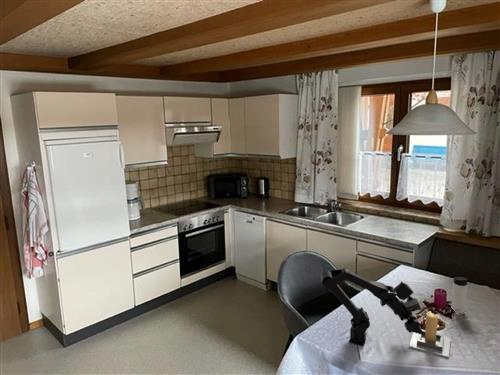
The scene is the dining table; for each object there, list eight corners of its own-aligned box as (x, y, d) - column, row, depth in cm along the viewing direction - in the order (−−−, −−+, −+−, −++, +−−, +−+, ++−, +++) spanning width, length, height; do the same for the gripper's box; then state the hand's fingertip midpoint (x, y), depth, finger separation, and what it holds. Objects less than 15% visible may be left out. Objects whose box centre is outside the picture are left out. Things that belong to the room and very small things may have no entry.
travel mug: (458, 316, 193) (461, 281, 189) (448, 310, 199) (451, 275, 195) (467, 314, 194) (471, 279, 190) (457, 308, 200) (460, 274, 196)
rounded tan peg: (422, 340, 173) (424, 315, 170) (429, 337, 174) (431, 312, 172) (430, 345, 168) (432, 320, 166) (438, 343, 170) (440, 317, 167)
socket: (409, 347, 169) (409, 342, 168) (414, 329, 182) (414, 324, 182) (448, 358, 161) (449, 352, 160) (450, 339, 174) (451, 333, 174)
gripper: (416, 305, 159) (441, 329, 160) (403, 285, 177) (425, 306, 178) (396, 320, 161) (421, 344, 162) (385, 299, 179) (407, 321, 180)
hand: (419, 328), depth 171 cm, fingers open, 9 cm apart
